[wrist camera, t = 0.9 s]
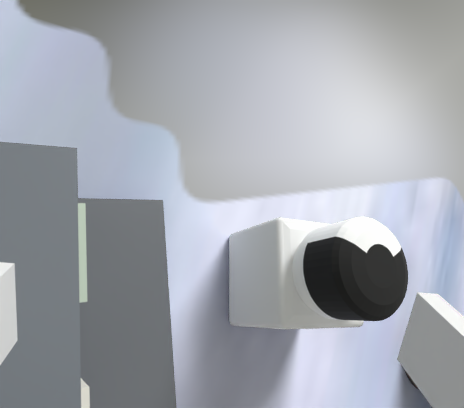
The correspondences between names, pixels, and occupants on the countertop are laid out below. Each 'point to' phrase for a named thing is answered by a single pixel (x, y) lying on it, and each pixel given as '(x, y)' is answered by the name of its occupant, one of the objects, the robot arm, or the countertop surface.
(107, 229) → the grey slotted block
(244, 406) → the countertop surface
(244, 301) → the medicine bottle
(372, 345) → the countertop surface
